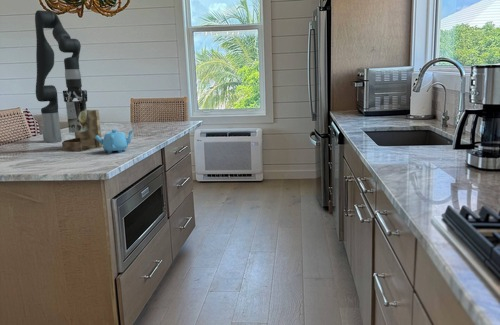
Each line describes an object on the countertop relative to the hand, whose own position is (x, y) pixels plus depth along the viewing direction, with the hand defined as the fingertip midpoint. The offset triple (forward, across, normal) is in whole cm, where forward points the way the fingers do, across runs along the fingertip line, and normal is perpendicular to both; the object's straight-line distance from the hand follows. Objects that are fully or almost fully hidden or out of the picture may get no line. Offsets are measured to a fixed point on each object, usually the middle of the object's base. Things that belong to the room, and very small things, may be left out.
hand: (76, 110), depth 230 cm
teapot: (+21, -25, +3) cm, 33 cm away
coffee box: (+11, 0, 0) cm, 11 cm away
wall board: (+20, 0, -6) cm, 21 cm away
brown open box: (+20, 0, 0) cm, 20 cm away
